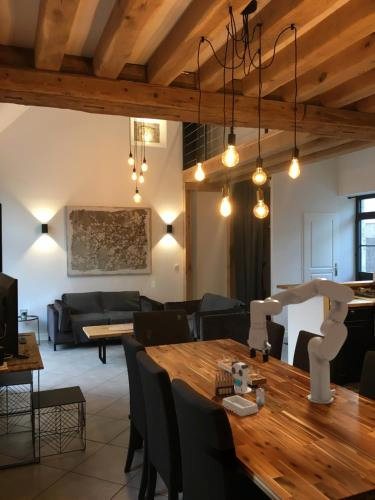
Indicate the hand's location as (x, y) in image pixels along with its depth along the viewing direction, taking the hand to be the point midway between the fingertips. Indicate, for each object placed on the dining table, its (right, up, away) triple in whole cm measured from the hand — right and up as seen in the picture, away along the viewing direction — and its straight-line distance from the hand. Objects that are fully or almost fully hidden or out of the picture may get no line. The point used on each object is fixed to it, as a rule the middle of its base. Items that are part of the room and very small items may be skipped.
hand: (259, 359), depth 213 cm
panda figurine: (-6, -23, +23) cm, 33 cm away
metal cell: (+1, -22, 0) cm, 22 cm away
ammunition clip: (-16, -23, +15) cm, 32 cm away
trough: (-10, -23, -5) cm, 25 cm away
